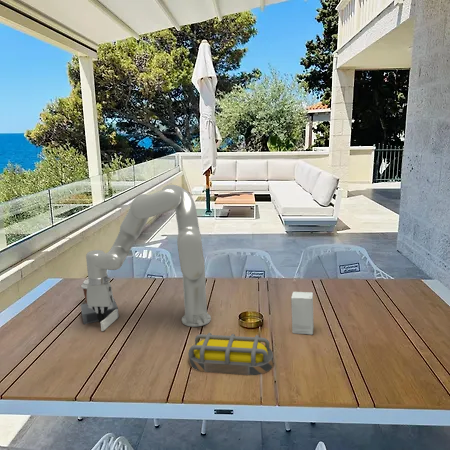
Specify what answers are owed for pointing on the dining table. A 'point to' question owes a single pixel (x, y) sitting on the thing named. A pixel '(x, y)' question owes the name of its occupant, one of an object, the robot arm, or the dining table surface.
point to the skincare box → (302, 312)
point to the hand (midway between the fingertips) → (101, 320)
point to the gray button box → (94, 313)
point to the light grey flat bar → (109, 319)
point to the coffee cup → (85, 288)
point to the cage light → (231, 354)
